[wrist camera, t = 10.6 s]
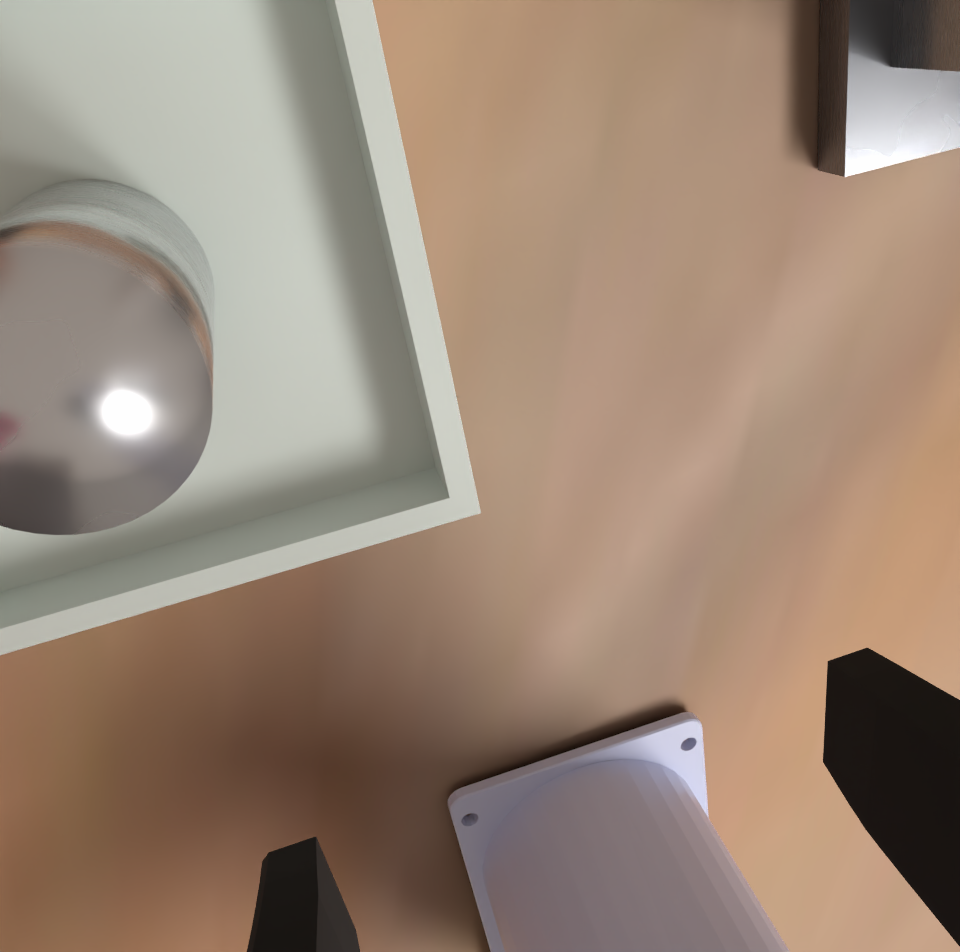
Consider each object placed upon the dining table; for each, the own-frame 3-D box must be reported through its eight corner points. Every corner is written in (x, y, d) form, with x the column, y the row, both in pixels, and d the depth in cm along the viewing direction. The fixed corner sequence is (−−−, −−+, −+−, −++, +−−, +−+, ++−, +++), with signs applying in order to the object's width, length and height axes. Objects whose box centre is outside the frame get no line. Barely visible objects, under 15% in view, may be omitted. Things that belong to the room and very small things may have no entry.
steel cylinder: (188, 166, 16) (173, 226, 11) (233, 370, 18) (239, 504, 13) (-46, 193, 15) (-184, 271, 10) (26, 403, 17) (-58, 560, 12)
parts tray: (459, 473, 21) (480, 513, 19) (-56, 621, 19) (-84, 680, 18) (329, -120, 15) (343, -139, 13) (-431, 22, 13) (-527, 22, 12)
